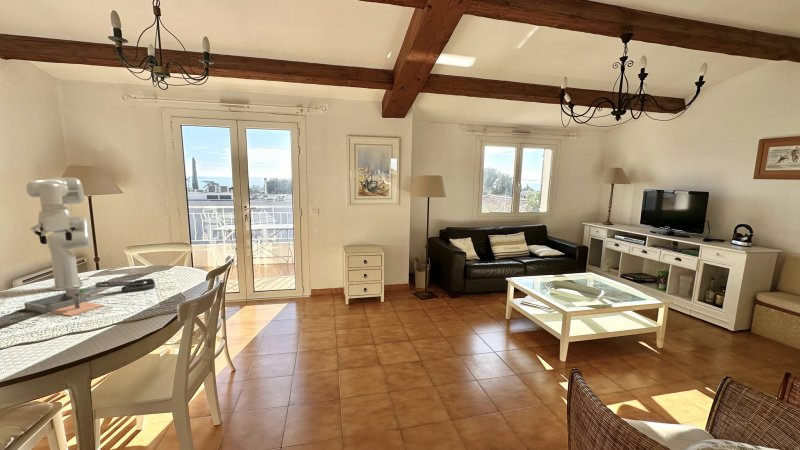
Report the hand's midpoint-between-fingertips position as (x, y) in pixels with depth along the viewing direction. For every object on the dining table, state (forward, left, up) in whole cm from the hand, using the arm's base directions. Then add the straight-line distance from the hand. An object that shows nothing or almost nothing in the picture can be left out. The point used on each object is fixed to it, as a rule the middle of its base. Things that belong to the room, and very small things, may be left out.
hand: (56, 242), depth 164 cm
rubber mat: (+6, +22, -30) cm, 38 cm away
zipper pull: (-20, +16, -30) cm, 39 cm away
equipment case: (+2, +6, -30) cm, 31 cm away
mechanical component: (+6, +22, -30) cm, 37 cm away
